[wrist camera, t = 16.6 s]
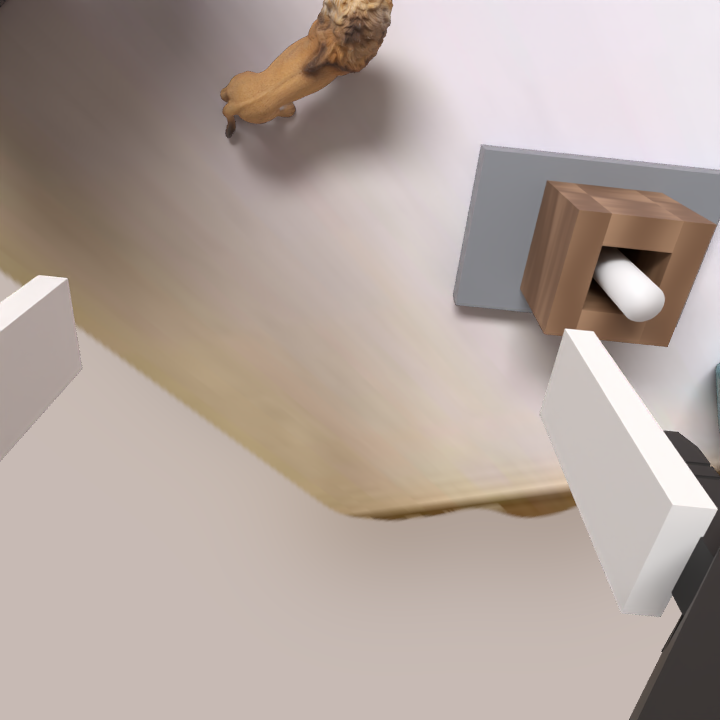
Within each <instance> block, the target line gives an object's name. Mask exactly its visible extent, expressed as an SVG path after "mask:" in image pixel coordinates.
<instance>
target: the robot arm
mask: <svg viewBox="0 0 720 720" xmlns="http://www.w3.org/2000/svg"><path fill="white" fill-rule="evenodd" d="M4 2H5V0H0V7H1V6H2V4H3V3H4ZM81 370H82V364H81V358H80V351H79V345H78V339H77V333H76V326H75V320H74V314H73V307H72V301H71V295H70V288H69V282H68V278H62V277H52V276H42V275H38V276H36V277H35V278H34V279H32V280H31V281H29V282H28V283H27V284H25V285H24V286H22V287H21V288H20V289H18V290H17V291H15V292H14V293H13V294H11V295H10V296H8V297H7V298H6V299H4V300H3V301H1V302H0V461H1V460H2V459H3V458H4V457H5V456H6V454H7V453H8V452H9V451H10V450H11V449H12V448H13V447H14V445H15V444H16V443H17V442H18V441H19V440H20V439H21V438H22V436H23V435H24V434H25V433H26V432H27V431H28V429H29V428H30V427H31V426H32V425H33V424H34V423H35V421H37V419H38V418H39V417H40V416H41V415H42V414H43V413H44V412H45V410H46V409H47V408H48V407H49V406H50V405H51V403H52V402H53V401H54V400H55V399H56V398H57V397H58V396H59V394H60V393H61V392H62V391H63V390H64V389H65V388H66V387H67V385H68V384H69V383H70V382H71V381H72V380H73V379H74V378H75V376H76V375H77V374H78V373H79V372H80V371H81ZM540 416H541V419H542V421H543V424H544V426H545V429H546V431H547V434H548V436H549V438H550V441H551V443H552V446H553V448H554V451H555V453H556V456H557V458H558V461H559V463H560V465H561V468H562V470H563V473H564V475H565V478H566V480H567V483H568V485H569V487H570V490H571V492H572V495H573V497H574V500H575V502H576V505H577V507H578V509H579V512H580V514H581V516H582V519H583V522H584V524H585V527H586V529H587V531H588V534H589V536H590V539H591V541H592V543H593V546H594V548H595V551H596V553H597V556H598V558H599V561H600V563H601V566H602V568H603V571H604V573H605V575H606V578H607V580H608V583H609V585H610V588H611V590H612V593H613V595H614V597H615V600H616V602H617V605H618V607H619V610H620V612H621V613H625V614H635V615H646V616H656V617H661V615H662V614H663V612H664V610H665V608H666V606H667V604H668V602H669V600H670V598H671V597H672V595H673V597H674V599H675V601H676V603H677V605H678V607H679V609H680V610H681V612H682V615H681V617H680V619H679V621H678V622H677V624H676V626H675V628H674V630H673V631H672V633H671V635H670V637H669V638H668V640H667V642H666V644H665V646H664V648H663V649H662V654H661V656H660V658H659V660H658V662H657V664H656V666H655V669H654V670H653V673H652V674H651V676H650V678H649V680H648V682H647V685H646V687H645V689H644V690H643V692H642V694H641V696H640V699H639V700H638V702H637V704H636V707H635V709H634V711H633V713H632V715H631V717H630V719H629V720H720V476H719V474H718V473H717V472H716V471H715V469H714V468H713V467H710V463H709V461H708V460H707V459H706V457H705V456H704V455H703V453H702V452H701V451H700V449H699V448H698V447H697V446H696V445H694V444H693V443H692V442H690V441H689V440H688V439H686V438H685V437H684V436H683V435H681V434H680V433H679V432H673V431H663V430H662V429H661V427H660V426H659V424H658V423H657V421H656V420H655V419H654V417H653V416H652V414H651V413H650V411H649V410H648V409H647V407H646V406H645V404H644V403H643V401H642V400H641V399H640V397H639V396H638V394H637V393H636V391H635V390H634V389H633V387H632V386H631V384H630V383H629V381H628V380H627V379H626V377H625V376H624V374H623V373H622V371H621V370H620V369H619V367H618V366H617V364H616V363H615V361H614V360H613V359H612V357H611V356H610V354H609V353H608V351H607V350H606V349H605V347H604V346H603V344H602V343H601V341H600V340H599V339H598V337H597V336H596V334H595V333H594V331H584V330H575V329H565V330H564V333H563V337H562V340H561V343H560V347H559V350H558V353H557V357H556V360H555V364H554V367H553V370H552V374H551V377H550V380H549V384H548V387H547V390H546V394H545V397H544V400H543V404H542V407H541V410H540Z"/></svg>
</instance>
